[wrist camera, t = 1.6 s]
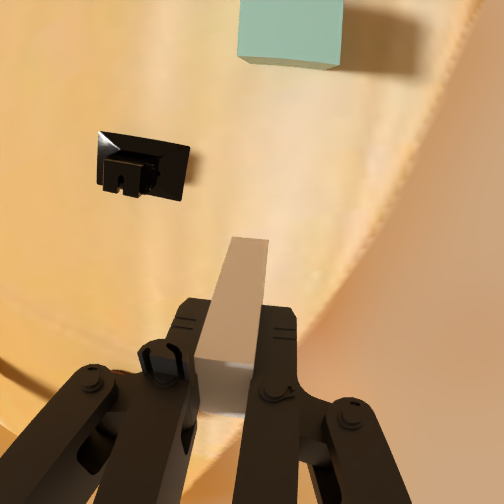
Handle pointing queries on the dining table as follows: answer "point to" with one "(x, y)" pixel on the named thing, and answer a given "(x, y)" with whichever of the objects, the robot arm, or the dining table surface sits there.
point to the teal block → (291, 32)
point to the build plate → (141, 166)
